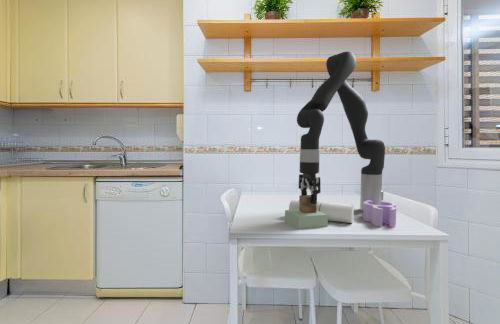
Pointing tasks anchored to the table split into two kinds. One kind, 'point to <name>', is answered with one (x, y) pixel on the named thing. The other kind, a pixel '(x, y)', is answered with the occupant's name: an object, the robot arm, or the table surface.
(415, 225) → the table surface
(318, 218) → the green box
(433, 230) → the table surface
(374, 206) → the clip
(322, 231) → the table surface
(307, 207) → the walnut block
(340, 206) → the cylindrical container
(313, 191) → the robot arm
